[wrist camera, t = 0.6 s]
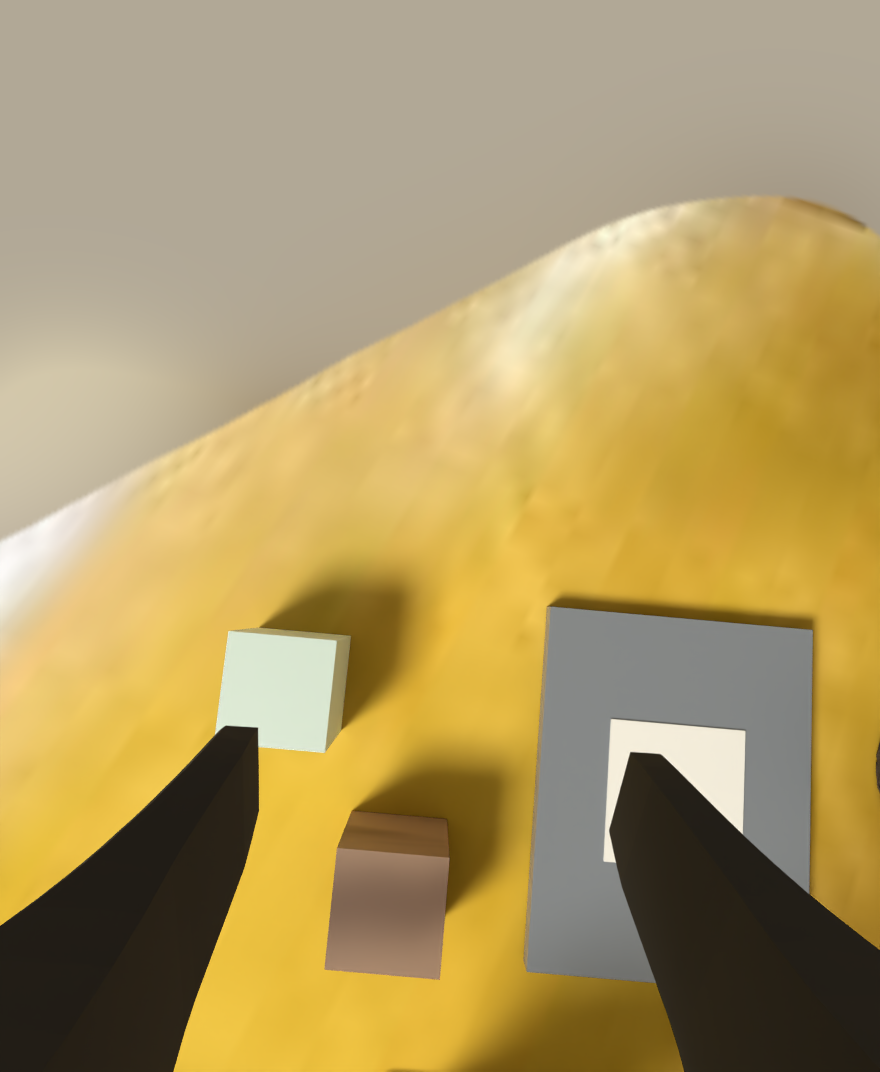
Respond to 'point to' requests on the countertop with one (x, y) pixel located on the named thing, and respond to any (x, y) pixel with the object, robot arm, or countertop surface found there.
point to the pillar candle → (878, 768)
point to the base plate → (678, 735)
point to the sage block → (285, 686)
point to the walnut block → (389, 896)
